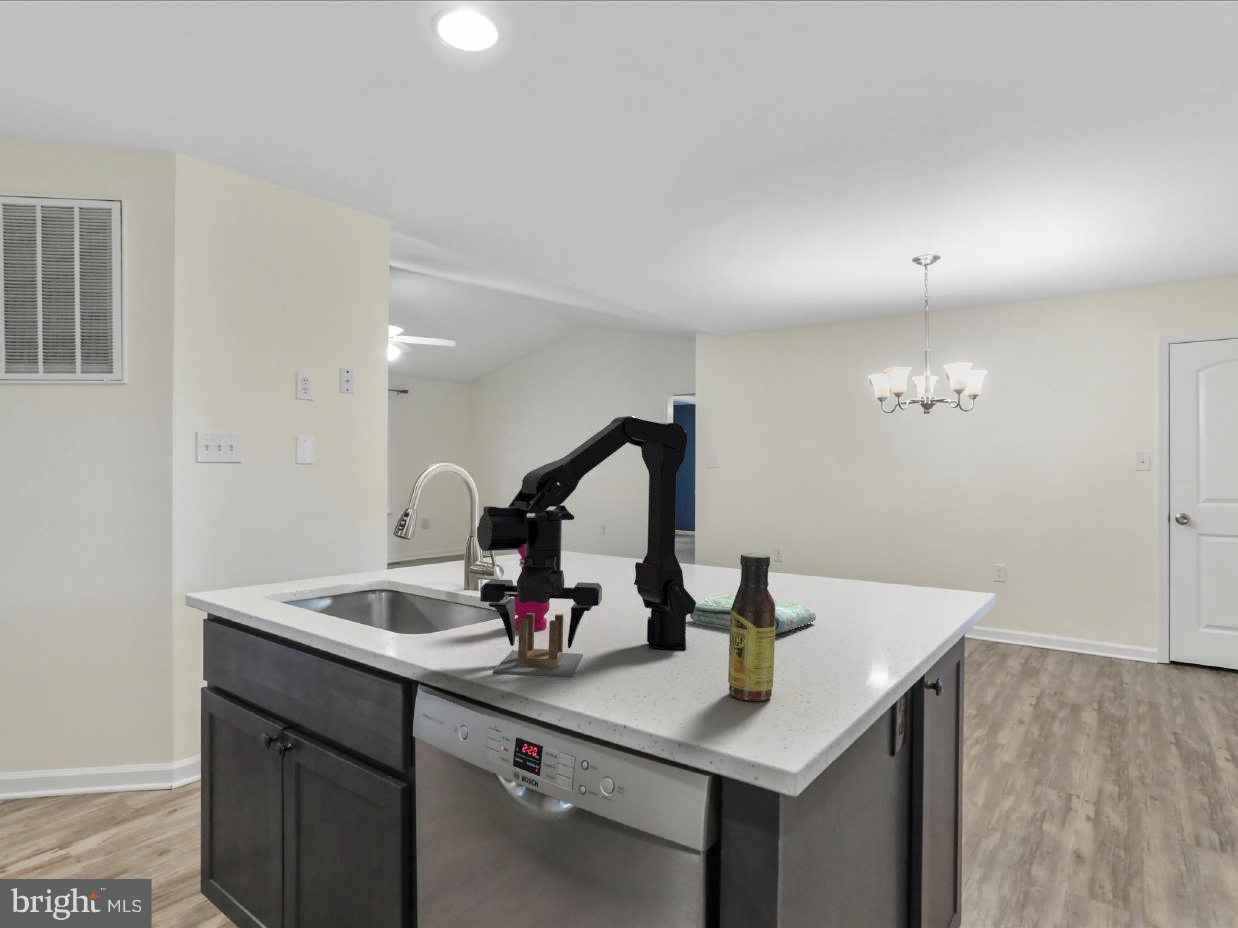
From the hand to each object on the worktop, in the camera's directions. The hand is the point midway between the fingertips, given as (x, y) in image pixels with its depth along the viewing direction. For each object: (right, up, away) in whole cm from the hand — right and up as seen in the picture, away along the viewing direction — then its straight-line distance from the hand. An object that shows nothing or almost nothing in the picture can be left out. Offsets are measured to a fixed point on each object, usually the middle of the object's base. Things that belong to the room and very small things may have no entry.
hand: (540, 646), depth 111 cm
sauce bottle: (+31, -4, -14) cm, 34 cm away
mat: (0, -3, 0) cm, 3 cm away
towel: (+40, -5, +35) cm, 53 cm away
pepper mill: (-5, -3, +25) cm, 26 cm away
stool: (0, -2, 0) cm, 2 cm away
